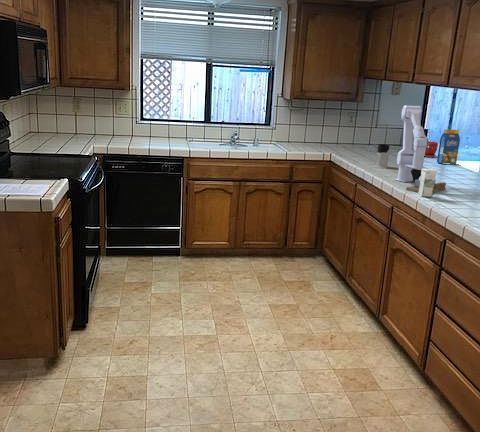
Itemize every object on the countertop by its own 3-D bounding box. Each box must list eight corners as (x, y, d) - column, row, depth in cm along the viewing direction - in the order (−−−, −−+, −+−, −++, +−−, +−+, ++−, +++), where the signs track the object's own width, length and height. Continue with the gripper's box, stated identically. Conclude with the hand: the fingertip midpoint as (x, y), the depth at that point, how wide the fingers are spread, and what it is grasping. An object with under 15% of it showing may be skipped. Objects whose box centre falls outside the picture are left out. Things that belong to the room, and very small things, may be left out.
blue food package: (456, 164, 378) (461, 130, 371) (441, 164, 376) (446, 129, 369) (451, 163, 384) (456, 129, 377) (436, 162, 382) (441, 128, 375)
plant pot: (438, 157, 410) (441, 142, 406) (431, 158, 400) (434, 143, 397) (423, 154, 418) (425, 140, 415) (415, 156, 409) (417, 141, 406)
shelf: (429, 186, 297) (430, 179, 296) (444, 189, 290) (446, 182, 289) (406, 189, 284) (407, 182, 283) (421, 193, 277) (422, 186, 276)
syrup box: (428, 194, 275) (432, 168, 271) (432, 197, 269) (436, 170, 265) (417, 194, 275) (421, 167, 271) (421, 197, 269) (425, 169, 265)
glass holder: (388, 168, 348) (390, 146, 344) (366, 166, 351) (369, 144, 347) (387, 166, 356) (390, 144, 352) (366, 164, 359) (368, 143, 355)
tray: (426, 184, 293) (428, 176, 292) (434, 186, 289) (435, 177, 288) (414, 186, 286) (415, 178, 284) (421, 188, 282) (423, 179, 281)
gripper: (403, 157, 291) (400, 180, 295) (425, 161, 280) (422, 185, 284) (410, 156, 296) (407, 179, 299) (433, 160, 284) (429, 184, 288)
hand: (415, 182), depth 292 cm, fingers closed
